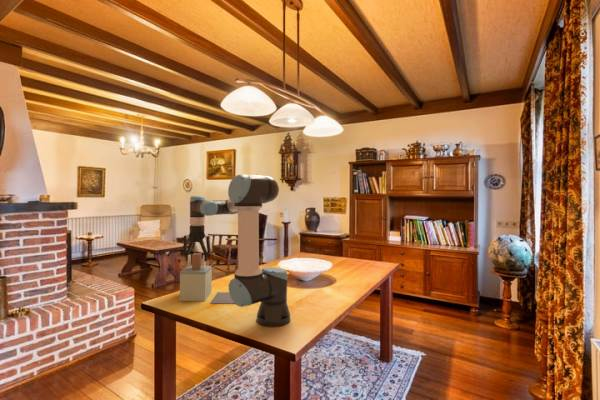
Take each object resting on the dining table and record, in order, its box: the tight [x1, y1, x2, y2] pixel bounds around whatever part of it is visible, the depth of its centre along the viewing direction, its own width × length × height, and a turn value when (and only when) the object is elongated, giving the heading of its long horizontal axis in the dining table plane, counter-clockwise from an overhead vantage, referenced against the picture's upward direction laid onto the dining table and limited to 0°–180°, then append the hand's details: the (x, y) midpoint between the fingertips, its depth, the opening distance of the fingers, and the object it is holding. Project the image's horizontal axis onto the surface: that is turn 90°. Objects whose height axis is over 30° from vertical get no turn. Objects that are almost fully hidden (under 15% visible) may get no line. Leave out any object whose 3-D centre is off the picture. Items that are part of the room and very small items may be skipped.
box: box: [179, 267, 213, 302], centre depth 160 cm, size 13×13×14 cm
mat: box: [209, 291, 236, 305], centre depth 159 cm, size 16×16×1 cm
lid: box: [179, 252, 213, 275], centre depth 159 cm, size 13×13×10 cm
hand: (196, 267), depth 159 cm, fingers open, 7 cm apart
